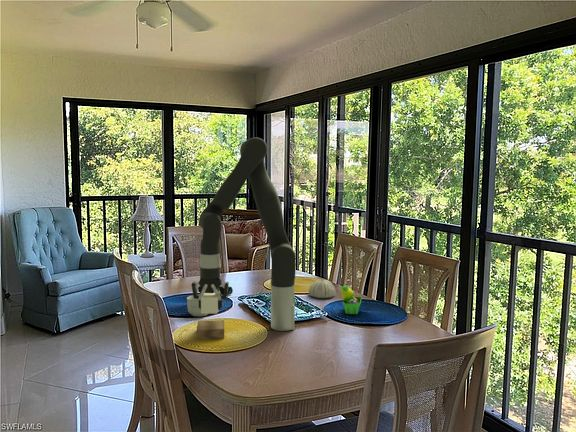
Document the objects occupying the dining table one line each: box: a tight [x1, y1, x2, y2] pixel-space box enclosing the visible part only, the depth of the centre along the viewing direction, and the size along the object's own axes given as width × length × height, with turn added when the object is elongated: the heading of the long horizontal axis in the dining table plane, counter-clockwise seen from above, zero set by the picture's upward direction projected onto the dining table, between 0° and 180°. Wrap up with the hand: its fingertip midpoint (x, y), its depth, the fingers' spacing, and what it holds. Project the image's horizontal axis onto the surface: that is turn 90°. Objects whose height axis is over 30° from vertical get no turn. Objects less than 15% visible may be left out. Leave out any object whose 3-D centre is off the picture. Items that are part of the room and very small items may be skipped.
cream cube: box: [201, 292, 220, 315], centre depth 177 cm, size 6×6×6 cm
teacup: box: [186, 293, 210, 317], centre depth 201 cm, size 14×11×8 cm
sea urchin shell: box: [308, 279, 337, 299], centre depth 231 cm, size 13×14×8 cm
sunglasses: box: [197, 285, 234, 304], centre depth 225 cm, size 17×15×5 cm
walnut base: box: [196, 319, 225, 341], centre depth 178 cm, size 10×10×4 cm
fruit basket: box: [340, 285, 362, 315], centre depth 207 cm, size 11×9×11 cm
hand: (210, 309), depth 177 cm, fingers closed on cream cube, 6 cm apart
